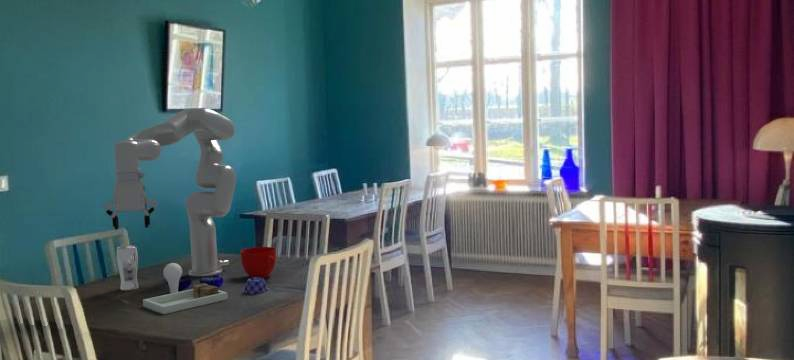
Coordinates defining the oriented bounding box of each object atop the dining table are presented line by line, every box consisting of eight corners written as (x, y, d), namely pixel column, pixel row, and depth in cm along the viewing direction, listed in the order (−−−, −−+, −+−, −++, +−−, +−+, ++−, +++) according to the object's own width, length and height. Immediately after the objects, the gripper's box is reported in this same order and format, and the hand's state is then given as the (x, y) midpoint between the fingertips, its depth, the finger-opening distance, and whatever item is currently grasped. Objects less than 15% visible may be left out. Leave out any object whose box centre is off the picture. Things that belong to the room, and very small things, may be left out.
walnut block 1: (205, 294, 237) (204, 283, 237) (209, 297, 234) (209, 285, 234) (193, 297, 235) (192, 285, 235) (198, 299, 232) (197, 287, 232)
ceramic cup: (258, 284, 254) (257, 256, 253) (235, 277, 266) (233, 250, 266) (289, 277, 262) (288, 250, 261) (265, 271, 275) (264, 245, 274)
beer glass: (132, 291, 250) (129, 249, 248) (115, 290, 251) (111, 248, 250) (143, 286, 257) (140, 245, 255) (126, 286, 258) (123, 245, 257)
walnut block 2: (210, 297, 234) (209, 285, 233) (218, 298, 231) (217, 286, 231) (200, 300, 231) (200, 288, 230) (208, 301, 228) (208, 289, 228)
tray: (206, 294, 241) (205, 286, 240) (227, 301, 231) (227, 292, 230) (143, 308, 225) (142, 299, 225) (163, 316, 215) (163, 307, 215)
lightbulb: (187, 293, 244) (185, 261, 243) (176, 297, 238) (174, 265, 237) (172, 292, 246) (170, 260, 245) (161, 296, 240) (158, 264, 239)
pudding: (236, 292, 244) (235, 277, 244) (271, 288, 248) (270, 273, 247) (240, 300, 233) (239, 284, 232) (276, 296, 237) (276, 280, 236)
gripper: (156, 175, 244) (160, 224, 246) (103, 178, 241) (107, 228, 243) (153, 177, 237) (157, 228, 238) (98, 180, 234) (102, 231, 235)
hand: (131, 228), depth 240 cm, fingers open, 9 cm apart
